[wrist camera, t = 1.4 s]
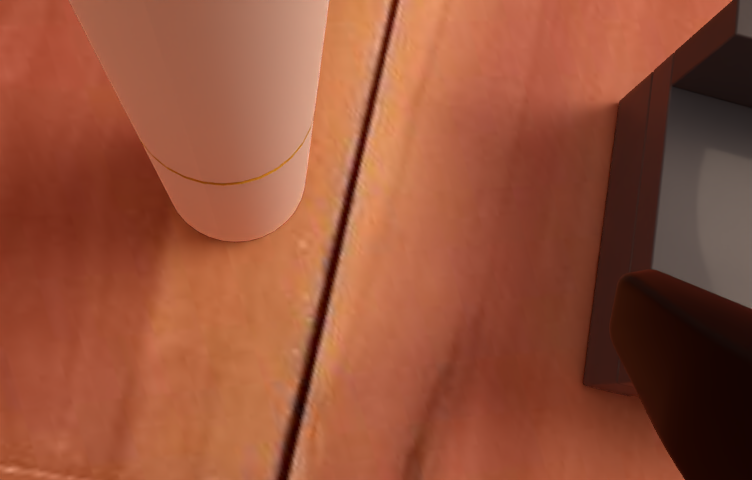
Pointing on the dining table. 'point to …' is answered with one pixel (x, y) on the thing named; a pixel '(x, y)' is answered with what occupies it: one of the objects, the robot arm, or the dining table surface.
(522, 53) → the dining table surface
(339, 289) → the dining table surface
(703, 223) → the shelf
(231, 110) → the tube
